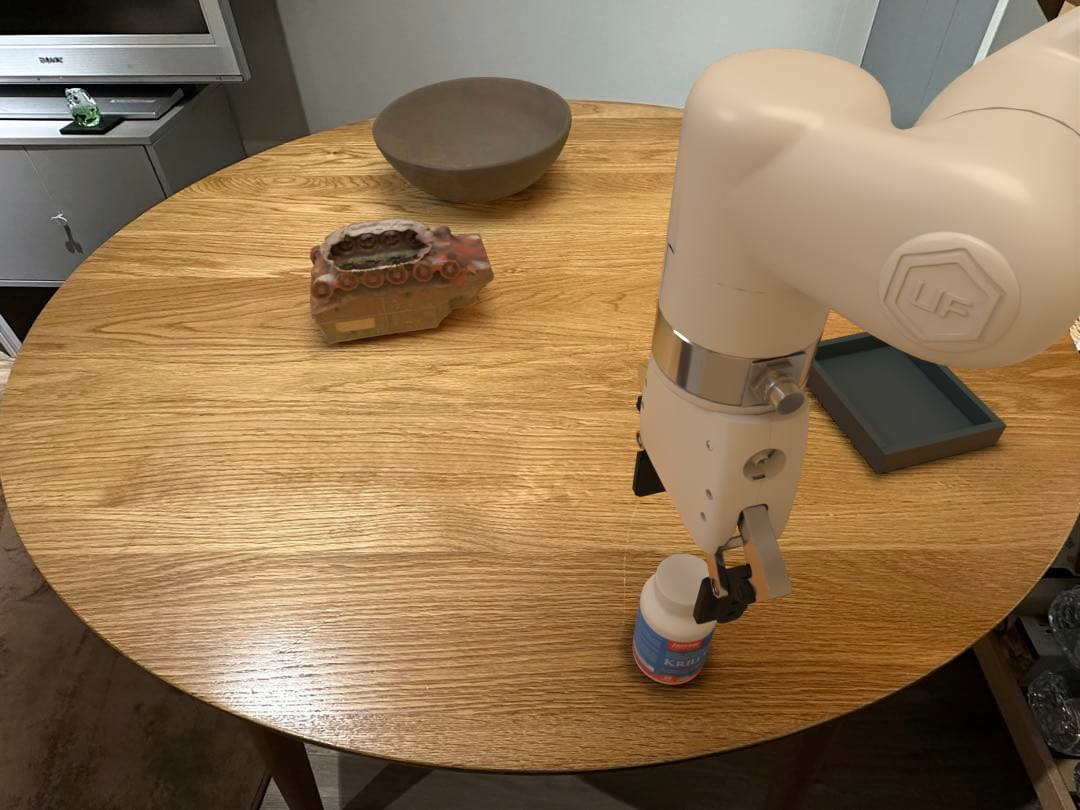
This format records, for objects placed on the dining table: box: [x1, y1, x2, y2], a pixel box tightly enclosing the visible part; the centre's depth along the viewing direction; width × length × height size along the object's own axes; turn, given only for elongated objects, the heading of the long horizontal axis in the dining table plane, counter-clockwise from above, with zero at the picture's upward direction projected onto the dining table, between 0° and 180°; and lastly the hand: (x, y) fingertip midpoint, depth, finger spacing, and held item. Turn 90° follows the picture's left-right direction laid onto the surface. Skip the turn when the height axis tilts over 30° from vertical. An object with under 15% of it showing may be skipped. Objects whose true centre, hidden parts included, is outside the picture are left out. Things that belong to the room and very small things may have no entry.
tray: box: [805, 331, 1008, 475], centre depth 75 cm, size 16×13×3 cm
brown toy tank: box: [309, 217, 495, 345], centre depth 84 cm, size 13×20×10 cm, turn 96°
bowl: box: [371, 76, 573, 205], centre depth 105 cm, size 26×26×10 cm
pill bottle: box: [632, 553, 718, 685], centre depth 54 cm, size 6×5×10 cm
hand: (684, 547), depth 48 cm, fingers open, 9 cm apart
